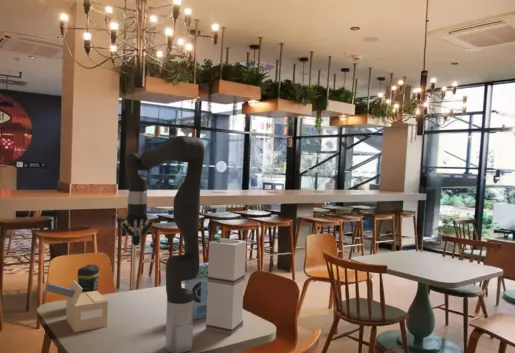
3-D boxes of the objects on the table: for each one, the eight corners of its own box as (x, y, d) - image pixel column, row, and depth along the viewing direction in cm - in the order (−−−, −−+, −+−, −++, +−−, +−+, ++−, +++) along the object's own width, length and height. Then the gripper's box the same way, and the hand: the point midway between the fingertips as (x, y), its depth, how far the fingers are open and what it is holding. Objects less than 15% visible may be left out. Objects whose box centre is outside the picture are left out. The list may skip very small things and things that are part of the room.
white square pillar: (242, 325, 172) (246, 241, 171) (231, 334, 162) (235, 245, 161) (218, 320, 176) (221, 238, 175) (205, 329, 166) (209, 242, 165)
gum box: (222, 310, 189) (224, 259, 189) (228, 313, 185) (230, 262, 185) (182, 317, 179) (184, 264, 178) (187, 321, 174) (189, 266, 174)
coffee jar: (91, 310, 182) (92, 268, 181) (73, 310, 182) (74, 267, 181) (100, 303, 191) (101, 263, 191) (83, 302, 191) (84, 262, 191)
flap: (82, 289, 160) (55, 281, 154) (75, 304, 159) (47, 297, 153) (74, 280, 172) (48, 272, 166) (67, 294, 170) (41, 287, 165)
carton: (107, 326, 165) (107, 300, 165) (74, 332, 158) (75, 305, 158) (96, 313, 178) (96, 290, 178) (65, 318, 171) (66, 294, 171)
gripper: (124, 203, 161) (122, 248, 162) (156, 203, 169) (155, 245, 169) (118, 201, 167) (116, 244, 168) (149, 201, 175) (148, 242, 175)
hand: (136, 245), depth 169 cm, fingers closed
